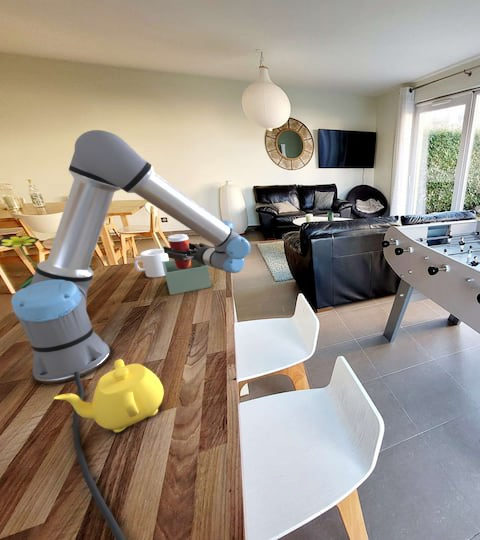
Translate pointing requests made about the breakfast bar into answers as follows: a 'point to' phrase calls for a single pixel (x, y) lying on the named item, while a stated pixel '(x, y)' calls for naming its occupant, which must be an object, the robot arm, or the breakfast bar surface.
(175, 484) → the breakfast bar surface
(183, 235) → the paper cup
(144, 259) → the mug
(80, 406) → the teapot
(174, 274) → the open storage box
